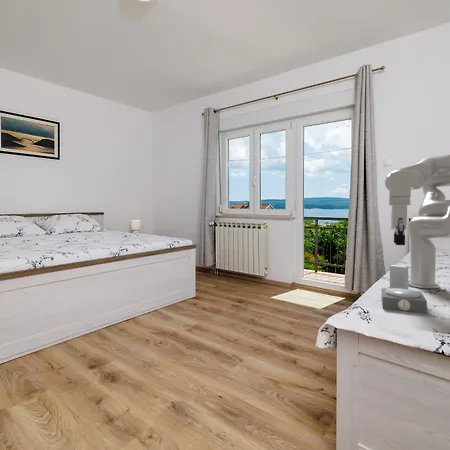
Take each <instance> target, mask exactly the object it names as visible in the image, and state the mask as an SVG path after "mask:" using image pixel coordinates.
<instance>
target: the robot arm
mask: <svg viewBox="0 0 450 450" xmlns="http://www.w3.org/2000/svg"><path fill="white" fill-rule="evenodd" d="M384 186H385V188H386V189H387V190H388V191H389V195H388V199H389V200H388V205H389V206H391V218H390V219H391V220H390V223H391V224H390V230H391V229H392V230H393V232H394V233H393V243H394V244H395V246H405V245H406V231H405V230H407V225H408V231H409V238H410V279H408V287H409V286H410V287H414V288H420V289H438V288H440V284H439V283H437V282H436V249H437V248H436V246H435V244H434V243H433V241H432V240H431V239H450V199H446V194H445V193H444V192H443V191H441V189H439V187H450V154H444V155H437V156H430V157H426V158H423V159H422V160H420V161H418V162H417V163H416V164H411V165H409V166H405V167H402V168H399V169H396V170H393V171H391V172H390V173H388V175H387V176H386V178H385V180H384ZM421 188H422V191H423V196H424V197H423V199H422V202H421V204H420V207H419V210H418V216H415V217H412V218H411V219H410V220H409V222H408V206H411V205H412V204H411V203H412V201H411V200H412V197H411V196H412V191H414V190H415V191H416V190H419V189H421ZM407 223H408V224H407Z"/></svg>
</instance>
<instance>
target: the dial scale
mask: <svg viewBox="0 0 450 450" xmlns="http://www.w3.org/2000/svg"><path fill="white" fill-rule="evenodd" d="M380 293H381V305H382V306H381V307H383V308H382V309H385V308H387V310H394V309H395V310H396V311H402V310H403V312H411V311H412V313H422V314H427V313H428V311H427V310H428V301H427V299H426V298H425V296H424V294H423V293H422V291H417V290H412V289H409V288H408V289H400V288H390V287H389V288H385V287H384V288H383V287H381V292H380ZM395 310H394V311H395Z"/></svg>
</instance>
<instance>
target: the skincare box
mask: <svg viewBox="0 0 450 450" xmlns="http://www.w3.org/2000/svg"><path fill="white" fill-rule="evenodd" d="M408 281H409V266H408V265H398V264H391V265H389V289H390V288H400V289H408V290H409V285H408Z"/></svg>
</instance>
